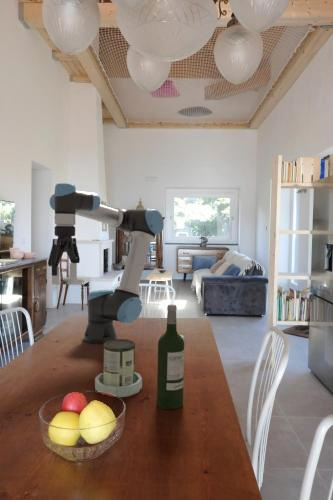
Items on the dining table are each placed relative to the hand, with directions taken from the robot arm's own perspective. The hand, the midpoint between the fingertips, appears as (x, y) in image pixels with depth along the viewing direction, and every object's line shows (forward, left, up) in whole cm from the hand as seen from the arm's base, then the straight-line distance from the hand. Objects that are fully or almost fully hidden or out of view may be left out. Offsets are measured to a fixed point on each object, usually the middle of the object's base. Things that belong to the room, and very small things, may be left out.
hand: (64, 282), depth 145 cm
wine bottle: (+21, +46, -32) cm, 60 cm away
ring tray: (+14, +27, -32) cm, 44 cm away
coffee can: (+14, +27, -31) cm, 44 cm away
